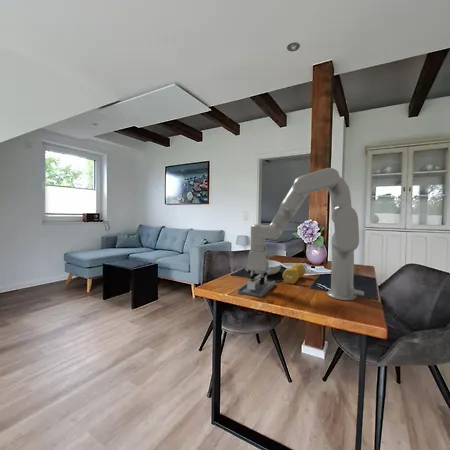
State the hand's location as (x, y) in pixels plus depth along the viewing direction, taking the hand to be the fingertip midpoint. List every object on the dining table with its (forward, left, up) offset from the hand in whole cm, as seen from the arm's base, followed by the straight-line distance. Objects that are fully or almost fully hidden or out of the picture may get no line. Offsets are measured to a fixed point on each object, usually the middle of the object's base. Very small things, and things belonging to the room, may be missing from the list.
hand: (257, 283), depth 131 cm
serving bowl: (+7, -32, -3) cm, 33 cm away
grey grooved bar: (0, 0, 0) cm, 0 cm away
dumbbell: (-13, -26, -3) cm, 29 cm away
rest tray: (0, 0, -3) cm, 3 cm away
